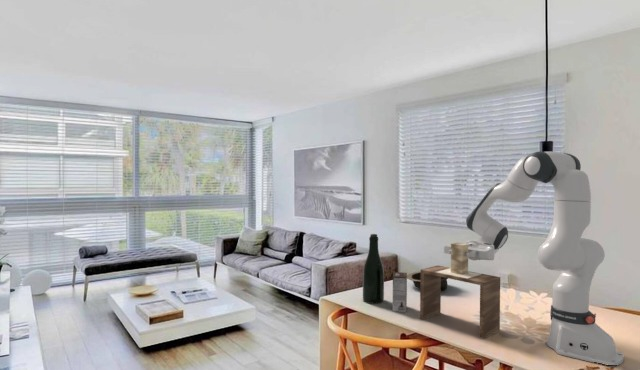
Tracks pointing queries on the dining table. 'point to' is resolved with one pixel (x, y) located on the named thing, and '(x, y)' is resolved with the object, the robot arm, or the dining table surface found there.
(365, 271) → the green wine bottle
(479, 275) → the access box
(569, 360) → the dining table surface
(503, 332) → the dining table surface
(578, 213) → the robot arm
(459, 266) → the maple block
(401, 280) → the coffee box
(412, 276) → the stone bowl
